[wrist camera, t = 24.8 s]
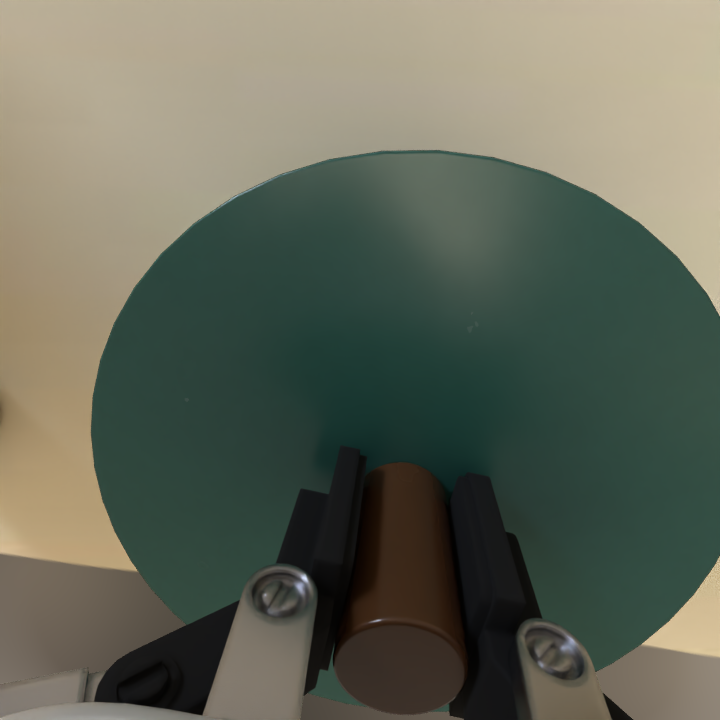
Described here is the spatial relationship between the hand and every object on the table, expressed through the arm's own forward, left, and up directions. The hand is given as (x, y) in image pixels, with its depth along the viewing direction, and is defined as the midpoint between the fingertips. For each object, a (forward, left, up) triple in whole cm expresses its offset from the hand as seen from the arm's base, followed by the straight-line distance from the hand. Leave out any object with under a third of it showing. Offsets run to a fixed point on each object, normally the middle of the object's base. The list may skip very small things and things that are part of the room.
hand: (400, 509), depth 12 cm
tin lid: (0, 0, -1) cm, 1 cm away
